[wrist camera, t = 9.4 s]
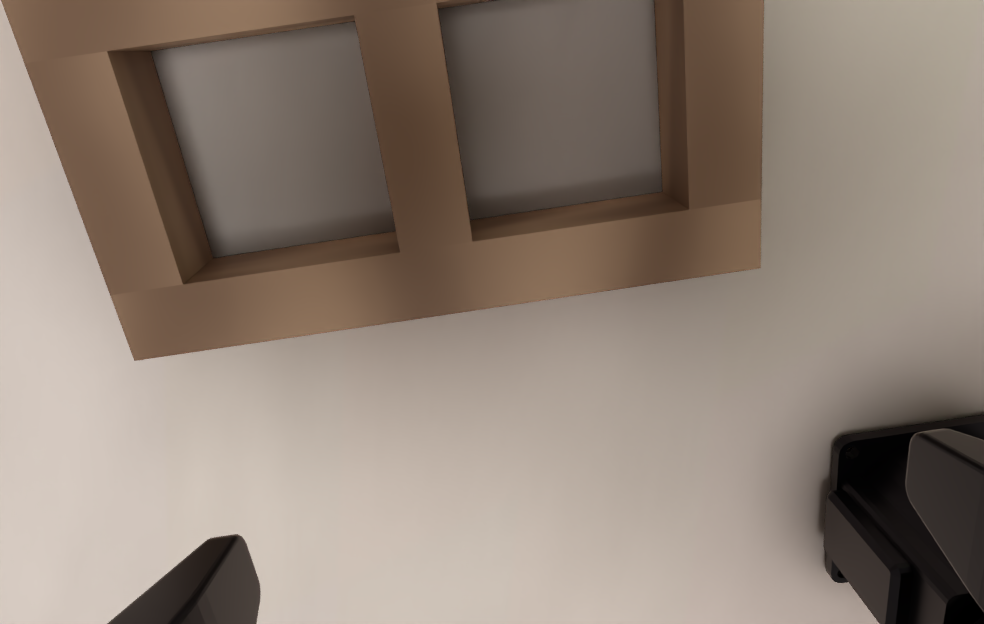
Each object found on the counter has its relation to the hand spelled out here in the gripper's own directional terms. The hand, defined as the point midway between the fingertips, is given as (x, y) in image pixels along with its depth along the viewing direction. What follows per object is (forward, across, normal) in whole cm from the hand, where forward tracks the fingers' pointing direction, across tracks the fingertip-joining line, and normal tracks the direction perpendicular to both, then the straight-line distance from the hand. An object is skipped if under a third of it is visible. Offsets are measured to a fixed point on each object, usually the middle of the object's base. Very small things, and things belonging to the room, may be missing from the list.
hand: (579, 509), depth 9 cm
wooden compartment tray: (+13, +2, -4) cm, 14 cm away
